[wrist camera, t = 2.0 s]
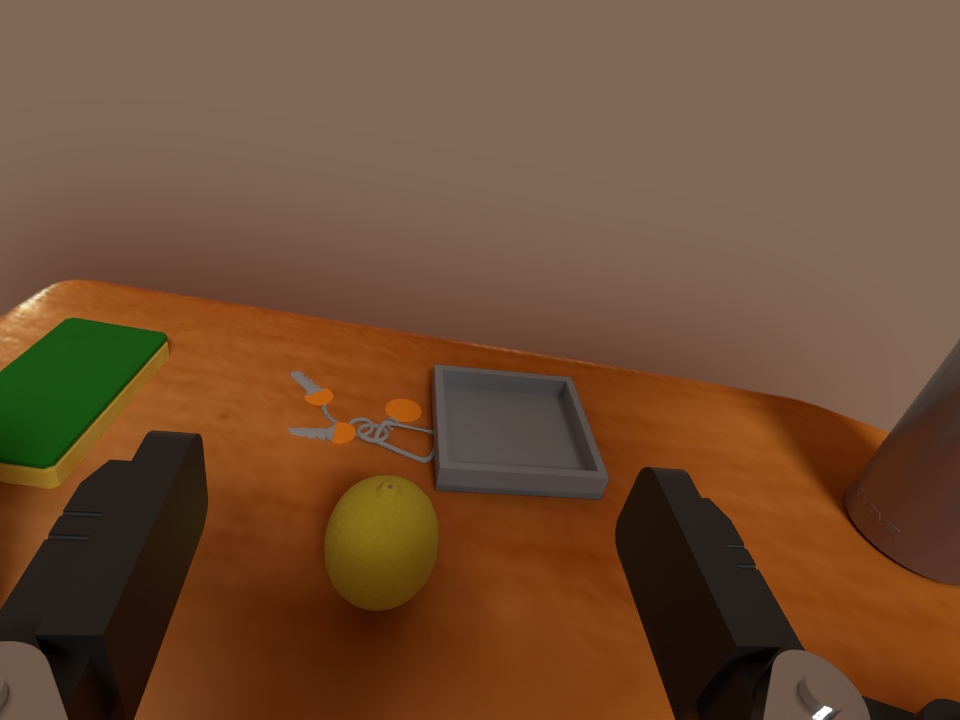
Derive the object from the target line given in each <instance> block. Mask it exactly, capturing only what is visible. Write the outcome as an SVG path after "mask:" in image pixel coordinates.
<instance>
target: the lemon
mask: <svg viewBox="0 0 960 720" xmlns="http://www.w3.org/2000/svg"><path fill="white" fill-rule="evenodd" d="M438 545H439V530H438V524H437V517H436V513H435V510H434V508H433V506H432V504H431V501H430V499H429V498H428V496H427V495H426V494H425V493H424V492H423V491H422V489H421V488H419V487H418V486H417V485H415V484H414V483H413V482H411V481H409V480H407V479H404V478H402V477H398V476H394V475H378V476H373V477H370V478H367V479H364V480H361V481H360V482H358V483H356V484H355V485H353V486H352V487H351V488H349V489H348V490H347V491H346V492H345V493H344V494H343V495H342V497H341V498H340V499H339V501H338V503H337V504H336V506H335V508H334V510H333V512H332V514H331V516H330V518H329V521H328V524H327V528H326V533H325V538H324V559H325V567H326V571H327V574H328V576H329V578H330V580H331V583H332V585H333V587H334V588H335V589H336V590H337V592H338V593H339V594H340V595H341V596H342V597H343V598H344V599H345V600H347V601H348V602H350V603H351V604H353V605H354V606H357V607H360V608H362V609H365V610H374V611H381V610H389V609H392V608H395V607H398V606H400V605H403V604H404V603H406V602H407V601H409V600H410V599H412V598H413V597H414V596H415V595H416V594H417V593H418V592H419V591H420V590H421V588H422V587H423V586H424V585H425V584H426V582H427V580H428V578H429V576H430V574H431V572H432V570H433V568H434V565H435V563H436V559H437V552H438Z"/></svg>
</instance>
